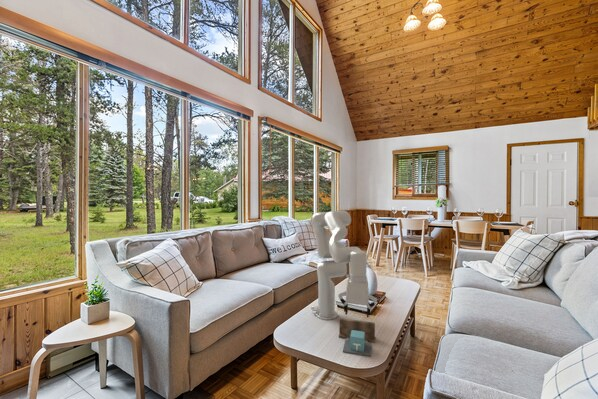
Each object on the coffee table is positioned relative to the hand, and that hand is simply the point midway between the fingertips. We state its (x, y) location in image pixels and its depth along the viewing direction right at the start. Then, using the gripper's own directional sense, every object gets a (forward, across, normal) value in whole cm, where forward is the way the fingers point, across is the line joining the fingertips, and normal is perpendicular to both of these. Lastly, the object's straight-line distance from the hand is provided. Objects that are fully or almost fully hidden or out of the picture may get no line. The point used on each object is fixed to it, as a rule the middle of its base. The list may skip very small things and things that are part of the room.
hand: (357, 314), depth 127 cm
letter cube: (+15, 0, -1) cm, 15 cm away
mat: (+15, 0, -1) cm, 15 cm away
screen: (+16, 0, +9) cm, 18 cm away
